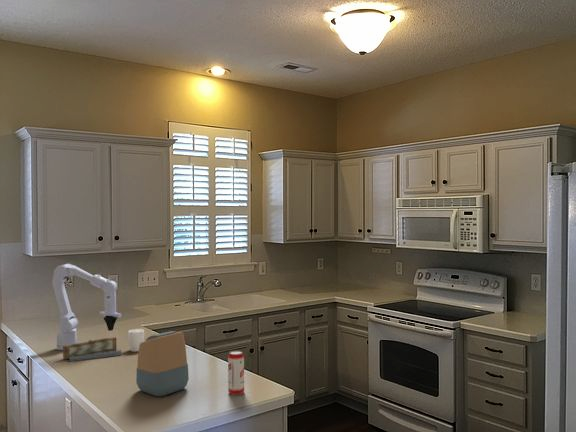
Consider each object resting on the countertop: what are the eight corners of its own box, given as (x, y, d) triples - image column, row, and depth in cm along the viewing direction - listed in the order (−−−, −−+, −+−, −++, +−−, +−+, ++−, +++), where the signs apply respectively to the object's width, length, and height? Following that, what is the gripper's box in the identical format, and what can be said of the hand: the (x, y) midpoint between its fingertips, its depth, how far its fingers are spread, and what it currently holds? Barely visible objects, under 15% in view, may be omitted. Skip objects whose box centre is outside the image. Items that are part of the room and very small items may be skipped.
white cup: (147, 348, 273) (147, 329, 273) (139, 352, 265) (138, 332, 265) (134, 347, 275) (133, 328, 275) (125, 351, 267) (125, 332, 267)
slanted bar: (69, 361, 251) (69, 357, 251) (69, 359, 253) (69, 355, 253) (121, 355, 261) (121, 351, 261) (121, 353, 263) (120, 349, 263)
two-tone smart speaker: (166, 380, 222) (166, 325, 222) (192, 388, 212) (191, 331, 211) (132, 391, 209) (131, 333, 209) (158, 400, 199) (157, 339, 198)
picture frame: (64, 359, 253) (64, 346, 253) (62, 358, 255) (62, 344, 255) (116, 349, 270) (116, 336, 270) (114, 348, 272) (114, 335, 272)
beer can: (244, 389, 209) (244, 350, 209) (243, 395, 203) (243, 354, 203) (229, 390, 209) (228, 350, 209) (227, 395, 203) (227, 354, 203)
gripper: (94, 304, 274) (95, 330, 274) (114, 306, 267) (114, 333, 267) (105, 302, 280) (105, 327, 280) (124, 304, 273) (125, 330, 273)
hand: (110, 330), depth 274 cm, fingers closed
